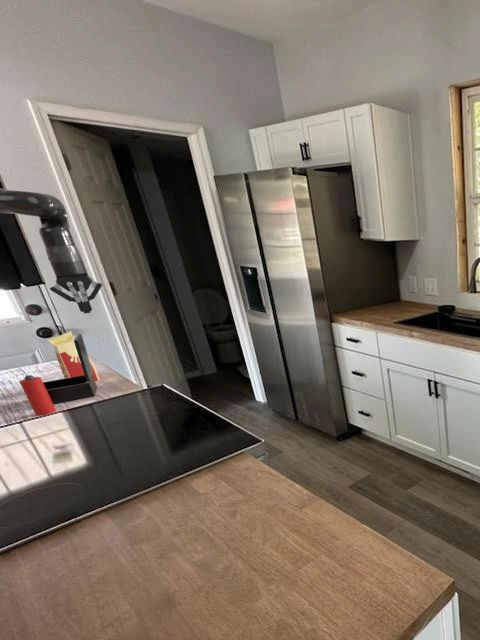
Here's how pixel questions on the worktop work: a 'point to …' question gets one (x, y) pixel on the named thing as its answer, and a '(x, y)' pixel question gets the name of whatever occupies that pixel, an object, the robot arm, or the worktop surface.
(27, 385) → the red capped cylinder
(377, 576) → the worktop surface
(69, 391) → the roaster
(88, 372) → the lid
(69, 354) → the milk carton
